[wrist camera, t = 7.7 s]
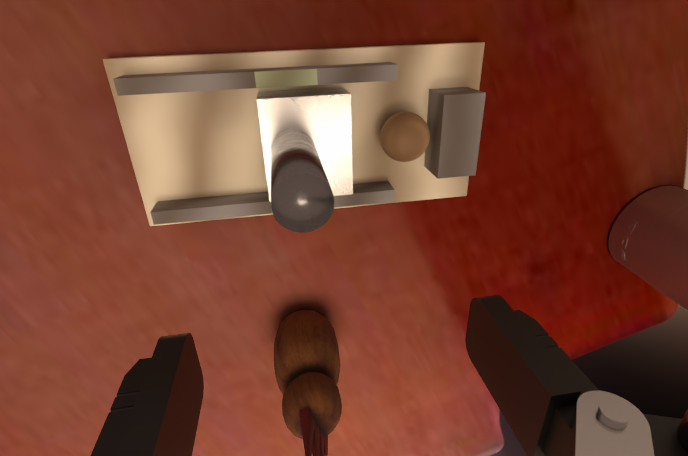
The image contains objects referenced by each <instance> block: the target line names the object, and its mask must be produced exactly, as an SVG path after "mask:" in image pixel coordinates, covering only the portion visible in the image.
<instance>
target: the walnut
mask: <svg viewBox="0 0 688 456" xmlns="http://www.w3.org/2000/svg"><path fill="white" fill-rule="evenodd" d="M429 140H430V132H429V128H428V125H427V123H426V122H425V121H424V119H423V118H422V117H420V116H419V115H417V114H415V113H412V112H399V113H396V114H394V115H393V116H391V117H390V118H389V119H388V120H387V121H386V122H385V123H384V125H383V127H382V130H381V134H380V141H381V146H382V148H383V150H384V152H385V153H386V154H387V155H388V156H389V157H390V158H392V159H394V160H396V161H399V162H409V161H413V160H415V159H417V158H418V157H420V156H421V155H422V154H423V153H424V152H425V150H426V149H427V147H428V144H429Z"/></svg>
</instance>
